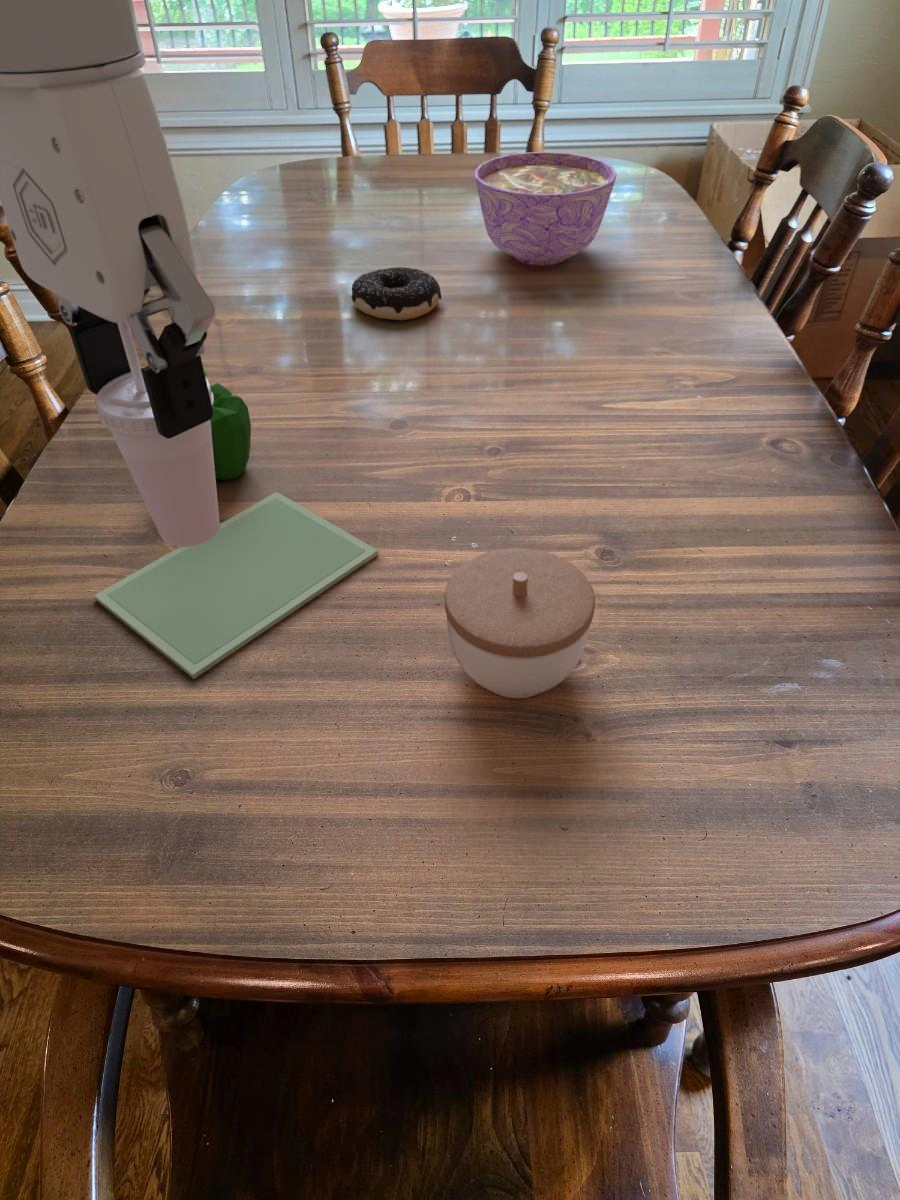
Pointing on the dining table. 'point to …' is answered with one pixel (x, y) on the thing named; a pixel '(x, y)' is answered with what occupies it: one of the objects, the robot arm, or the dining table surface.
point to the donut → (396, 293)
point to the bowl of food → (543, 203)
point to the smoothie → (162, 457)
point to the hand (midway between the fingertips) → (149, 402)
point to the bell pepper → (229, 433)
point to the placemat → (234, 582)
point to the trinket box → (518, 619)
